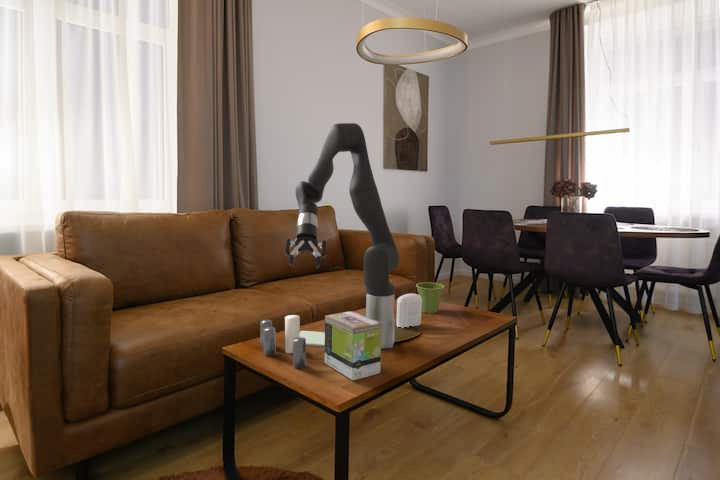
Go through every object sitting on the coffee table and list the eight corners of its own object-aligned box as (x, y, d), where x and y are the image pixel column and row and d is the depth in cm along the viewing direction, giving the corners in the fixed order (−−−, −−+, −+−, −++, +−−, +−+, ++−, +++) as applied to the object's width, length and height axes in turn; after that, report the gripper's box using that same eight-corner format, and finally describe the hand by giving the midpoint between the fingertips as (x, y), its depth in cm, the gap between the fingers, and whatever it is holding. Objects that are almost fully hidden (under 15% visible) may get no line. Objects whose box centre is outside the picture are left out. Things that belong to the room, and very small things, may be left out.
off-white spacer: (301, 348, 140) (301, 315, 138) (297, 354, 135) (296, 319, 134) (288, 347, 140) (287, 314, 139) (283, 352, 136) (282, 318, 135)
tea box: (381, 373, 122) (382, 321, 120) (352, 382, 116) (352, 328, 114) (351, 356, 134) (352, 309, 132) (323, 363, 128) (323, 314, 127)
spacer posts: (344, 349, 140) (344, 325, 139) (330, 371, 122) (331, 344, 121) (263, 342, 145) (263, 319, 144) (239, 363, 127) (238, 336, 126)
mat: (334, 334, 154) (334, 333, 154) (325, 346, 142) (325, 344, 142) (301, 332, 156) (301, 330, 156) (290, 343, 144) (290, 341, 144)
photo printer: (415, 322, 169) (416, 291, 168) (422, 325, 166) (423, 293, 164) (394, 326, 164) (395, 294, 162) (401, 329, 160) (402, 296, 159)
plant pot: (409, 310, 185) (410, 284, 184) (427, 306, 193) (427, 281, 192) (431, 317, 177) (432, 289, 175) (449, 311, 185) (450, 285, 183)
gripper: (287, 221, 156) (283, 261, 147) (327, 223, 157) (326, 262, 149) (287, 232, 162) (284, 271, 153) (326, 234, 164) (324, 273, 155)
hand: (304, 267), depth 151 cm, fingers open, 8 cm apart
